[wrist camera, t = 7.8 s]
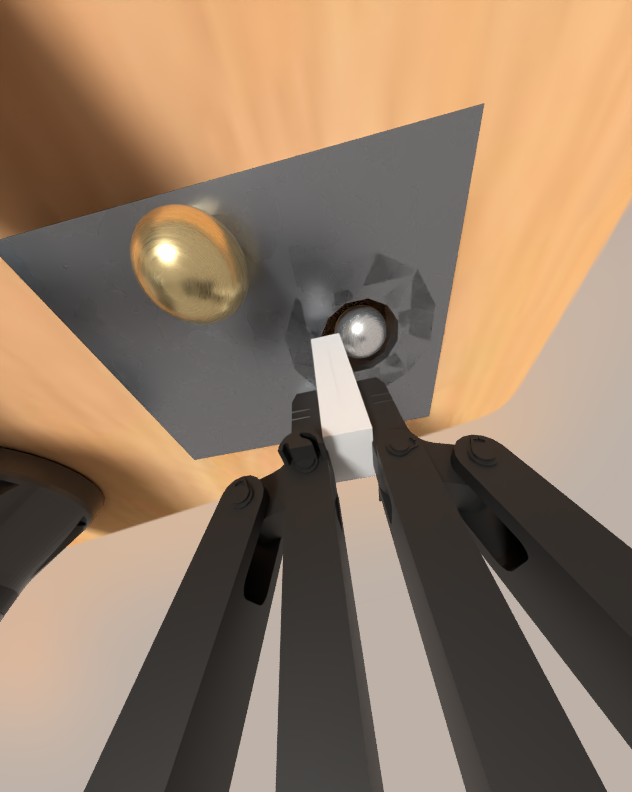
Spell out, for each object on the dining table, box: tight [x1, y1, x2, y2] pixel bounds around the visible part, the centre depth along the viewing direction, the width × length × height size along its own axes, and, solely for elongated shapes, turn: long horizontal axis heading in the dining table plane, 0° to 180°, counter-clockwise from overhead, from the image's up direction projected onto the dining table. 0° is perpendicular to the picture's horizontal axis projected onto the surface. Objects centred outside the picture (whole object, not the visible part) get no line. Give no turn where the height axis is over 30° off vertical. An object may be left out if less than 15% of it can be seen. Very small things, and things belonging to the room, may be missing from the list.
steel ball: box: [334, 305, 387, 358], centre depth 14 cm, size 3×3×3 cm
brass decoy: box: [130, 204, 249, 325], centre depth 9 cm, size 4×4×4 cm
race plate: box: [0, 103, 484, 460], centre depth 15 cm, size 20×16×2 cm
